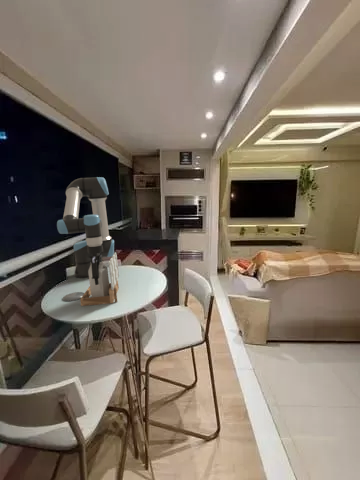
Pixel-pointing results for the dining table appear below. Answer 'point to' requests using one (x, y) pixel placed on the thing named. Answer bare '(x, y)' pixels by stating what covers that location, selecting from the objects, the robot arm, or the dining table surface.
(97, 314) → the dining table surface
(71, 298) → the disc
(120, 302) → the dining table surface
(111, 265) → the cold frame
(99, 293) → the milk carton
